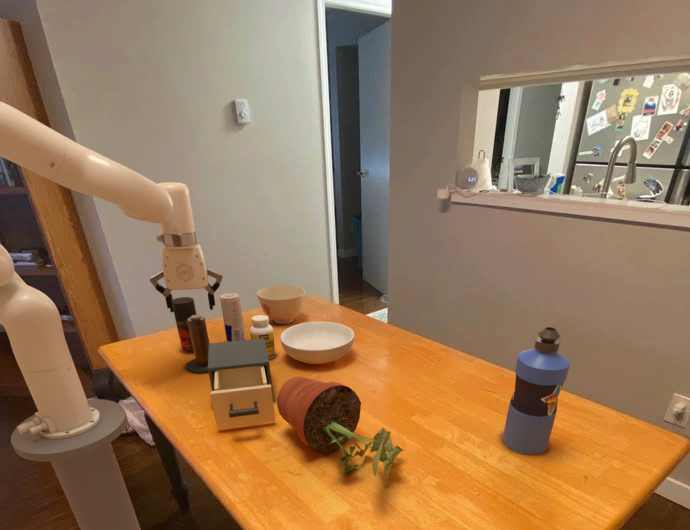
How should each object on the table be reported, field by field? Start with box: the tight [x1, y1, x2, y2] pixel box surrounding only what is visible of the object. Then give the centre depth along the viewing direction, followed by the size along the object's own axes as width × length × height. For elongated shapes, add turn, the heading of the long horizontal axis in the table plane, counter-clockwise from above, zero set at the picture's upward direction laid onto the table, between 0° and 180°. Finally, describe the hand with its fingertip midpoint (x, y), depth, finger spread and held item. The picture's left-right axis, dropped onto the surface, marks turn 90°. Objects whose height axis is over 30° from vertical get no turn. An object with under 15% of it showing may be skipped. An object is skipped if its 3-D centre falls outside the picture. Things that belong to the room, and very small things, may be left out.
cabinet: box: [208, 338, 274, 403], centre depth 113 cm, size 15×14×11 cm
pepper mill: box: [187, 314, 210, 367], centre depth 124 cm, size 4×4×14 cm
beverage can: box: [219, 292, 247, 342], centre depth 138 cm, size 6×6×15 cm
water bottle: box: [502, 326, 571, 456], centre depth 90 cm, size 9×9×25 cm
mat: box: [185, 358, 209, 374], centre depth 128 cm, size 10×10×1 cm
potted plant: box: [276, 376, 404, 481], centre depth 88 cm, size 16×15×35 cm
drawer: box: [210, 365, 276, 430], centre depth 102 cm, size 18×12×9 cm
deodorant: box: [173, 296, 198, 355], centre depth 134 cm, size 6×6×15 cm
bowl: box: [256, 284, 306, 325], centre depth 156 cm, size 16×16×10 cm
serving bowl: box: [280, 320, 355, 365], centre depth 132 cm, size 21×21×7 cm
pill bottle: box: [249, 314, 276, 360], centre depth 130 cm, size 6×6×12 cm
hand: (192, 309), depth 119 cm, fingers open, 9 cm apart
